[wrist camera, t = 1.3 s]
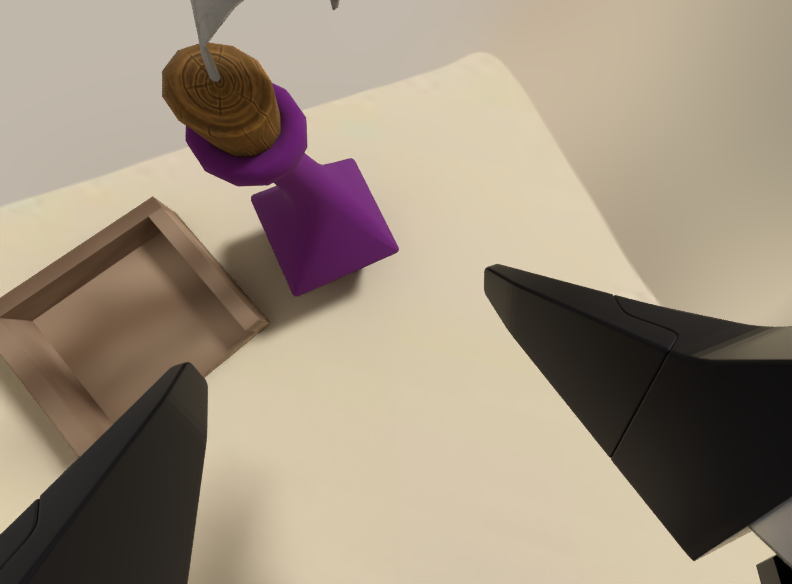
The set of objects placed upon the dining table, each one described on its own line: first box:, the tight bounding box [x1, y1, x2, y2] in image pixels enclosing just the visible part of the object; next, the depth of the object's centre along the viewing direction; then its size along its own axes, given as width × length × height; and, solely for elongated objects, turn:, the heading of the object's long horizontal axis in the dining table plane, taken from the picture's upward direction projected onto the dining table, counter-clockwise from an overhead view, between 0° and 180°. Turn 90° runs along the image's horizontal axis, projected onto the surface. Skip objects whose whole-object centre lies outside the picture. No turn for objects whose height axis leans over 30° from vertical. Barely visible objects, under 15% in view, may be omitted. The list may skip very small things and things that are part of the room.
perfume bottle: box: [162, 0, 399, 296], centre depth 15 cm, size 8×8×18 cm
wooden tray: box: [0, 197, 270, 457], centre depth 20 cm, size 11×12×2 cm
